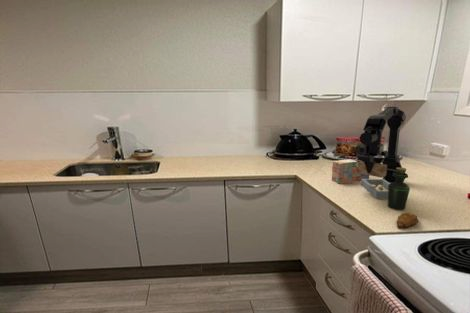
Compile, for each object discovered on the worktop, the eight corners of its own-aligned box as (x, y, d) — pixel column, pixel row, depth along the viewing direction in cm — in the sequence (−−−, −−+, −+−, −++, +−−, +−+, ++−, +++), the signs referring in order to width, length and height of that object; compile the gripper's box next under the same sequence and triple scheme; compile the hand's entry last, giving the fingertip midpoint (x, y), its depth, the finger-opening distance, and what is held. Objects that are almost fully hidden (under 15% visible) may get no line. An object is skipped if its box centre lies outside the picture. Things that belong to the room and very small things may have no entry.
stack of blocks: (361, 177, 159) (363, 157, 156) (368, 180, 153) (370, 160, 150) (331, 180, 153) (332, 160, 151) (338, 183, 148) (339, 163, 145)
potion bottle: (381, 204, 119) (386, 166, 115) (398, 203, 119) (403, 165, 115) (393, 211, 111) (398, 171, 107) (411, 210, 111) (417, 170, 107)
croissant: (409, 233, 94) (410, 220, 93) (389, 226, 99) (391, 214, 98) (424, 222, 101) (426, 211, 100) (405, 216, 107) (407, 205, 106)
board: (386, 175, 127) (387, 164, 126) (381, 177, 124) (383, 166, 123) (361, 170, 136) (362, 160, 135) (357, 172, 133) (357, 162, 132)
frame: (383, 185, 144) (384, 179, 143) (402, 199, 123) (403, 192, 123) (360, 184, 145) (361, 178, 144) (375, 198, 125) (376, 192, 124)
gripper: (368, 137, 138) (365, 165, 142) (348, 142, 128) (346, 172, 131) (390, 140, 129) (386, 170, 133) (370, 145, 119) (367, 177, 122)
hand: (371, 172), depth 130 cm, fingers closed on board, 5 cm apart
